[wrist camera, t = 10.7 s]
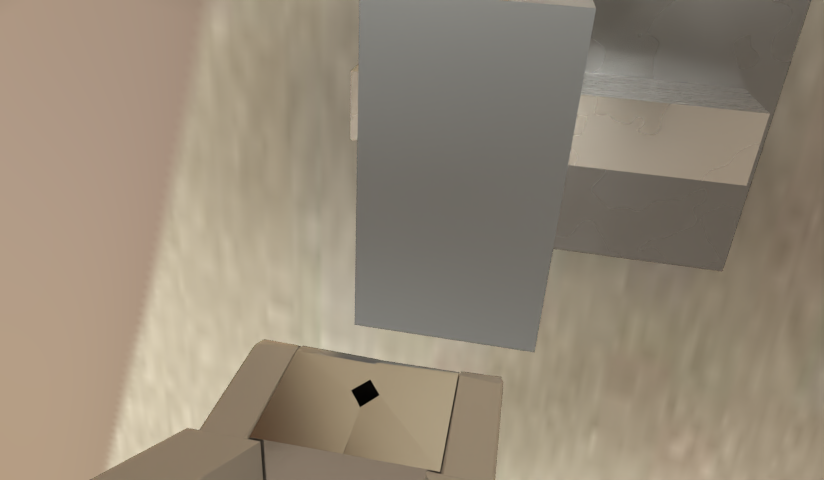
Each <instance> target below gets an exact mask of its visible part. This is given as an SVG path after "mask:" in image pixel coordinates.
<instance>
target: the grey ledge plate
mask: <svg viewBox="0 0 824 480" xmlns="http://www.w3.org/2000/svg"><path fill="white" fill-rule="evenodd" d="M593 2H594V4H595V7H596V12H595V17H594V23H593V29H592V34H591V40H590V45H589V51H588V56H587V62H586V68H585V73H584V79H583V84H582V90H581V95H580V101H579V107H578V112H577V118H576V123H575V129H574V135H573V140H572V146H571V151H570V157H569V162H568V168H567V174H566V179H565V185H564V190H563V196H562V201H561V207H560V213H559V218H558V224H557V229H556V235H555V240H554V246H553V249H560V250H567V251H575V252H582V253H590V254H597V255H605V256H612V257H620V258H627V259H635V260H642V261H650V262H657V263H665V264H672V265H680V266H687V267H695V268H702V269H710V270H717V271H722V270H723V267H724V264H725V261H726V258H727V255H728V252H729V249H730V246H731V243H732V240H733V237H734V234H735V231H736V228H737V225H738V222H739V219H740V216H741V212H742V209H743V206H744V203H745V200H746V197H747V194H748V191H749V188H750V185H751V182H752V179H753V176H754V173H755V170H756V167H757V164H758V161H759V158H760V155H761V151H762V148H763V145H764V142H765V139H766V136H767V133H768V130H769V127H770V124H771V121H772V118H773V115H774V112H775V109H776V106H777V103H778V100H779V97H780V94H781V90H782V87H783V84H784V81H785V78H786V75H787V72H788V69H789V66H790V63H791V60H792V57H793V54H794V51H795V48H796V45H797V42H798V39H799V36H800V33H801V29H802V26H803V23H804V20H805V17H806V14H807V11H808V8H809V5H810V2H811V0H593ZM358 68H359V64H358V65H357V66H356V67H355V68H354V69H352V70H351V97H350V140H357V135H358Z"/></svg>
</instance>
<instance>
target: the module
mask: <svg viewBox="0 0 824 480" xmlns="http://www.w3.org/2000/svg"><path fill="white" fill-rule="evenodd" d="M595 12H596V7H595V4H594V2H593V0H359V68H358V135H357V203H356V271H355V325H360V326H367V327H373V328H380V329H386V330H393V331H399V332H406V333H412V334H419V335H425V336H432V337H438V338H445V339H451V340H458V341H464V342H471V343H477V344H484V345H490V346H497V347H503V348H510V349H516V350H523V351H529V352H535V346H536V341H537V335H538V330H539V324H540V319H541V313H542V307H543V302H544V296H545V291H546V285H547V280H548V274H549V268H550V263H551V257H552V252H553V246H554V240H555V235H556V229H557V224H558V218H559V213H560V207H561V201H562V196H563V190H564V185H565V179H566V174H567V168H568V162H569V157H570V151H571V146H572V140H573V135H574V129H575V123H576V118H577V112H578V107H579V101H580V95H581V90H582V84H583V79H584V73H585V68H586V62H587V56H588V51H589V45H590V40H591V34H592V29H593V23H594V17H595Z"/></svg>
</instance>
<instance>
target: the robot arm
mask: <svg viewBox="0 0 824 480" xmlns="http://www.w3.org/2000/svg"><path fill="white" fill-rule="evenodd" d="M459 374H460V376H459ZM502 394H503V380H502V378H501V377H498V376H490V375H483V374H476V373H468V372H461V373H460V372H454V371H447V370H441V369H434V368H428V367H421V366H415V365H408V364H402V363H395V362H389V361H383V360H378V359H373V358H367V357H362V356H356V355H351V354H346V353H340V352H335V351H329V350H324V349H318V348H313V347H308V346H302V347H301V346H298V345H294V344H288V343H282V342H277V341H271V340H265V339H264V340H262V341H260V342H259V343H257V344H256V345H254V347H253V348H252V350H251V351H250V353H249V355H248V356H247V358H246V359H245V361H244V362H243V364H242V365H241V367H240V368H239V370H238V371H237V373H236V375H235V376H234V378H233V379H232V381H231V382H230V384H229V385H228V387H227V388H226V390H225V391H224V393H223V395H222V396H221V398H220V399H219V401H218V402H217V404H216V405H215V407H214V408H213V410H212V411H211V413H210V414H209V416H208V418H207V419H206V421H205V422H204V424H203V425H202V427H201V428H200V430H195V429H189V428H186V429H184V430H183V431H181V432H179V433H177V434H175V435H173V436H171V437H169V438H168V439H166V440H164V441H162V442H160V443H158V444H156V445H154V446H152V447H151V448H149V449H147V450H145V451H143V452H141V453H139V454H137V455H135V456H134V457H132V458H130V459H128V460H126V461H124V462H122V463H120V464H119V465H117V466H115V467H113V468H111V469H109V470H107V471H105V472H103V473H102V474H100V475H98V476H96V477H94V478H92V479H90V480H495V474H496V463H497V452H498V440H499V429H500V417H501V406H502Z"/></svg>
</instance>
